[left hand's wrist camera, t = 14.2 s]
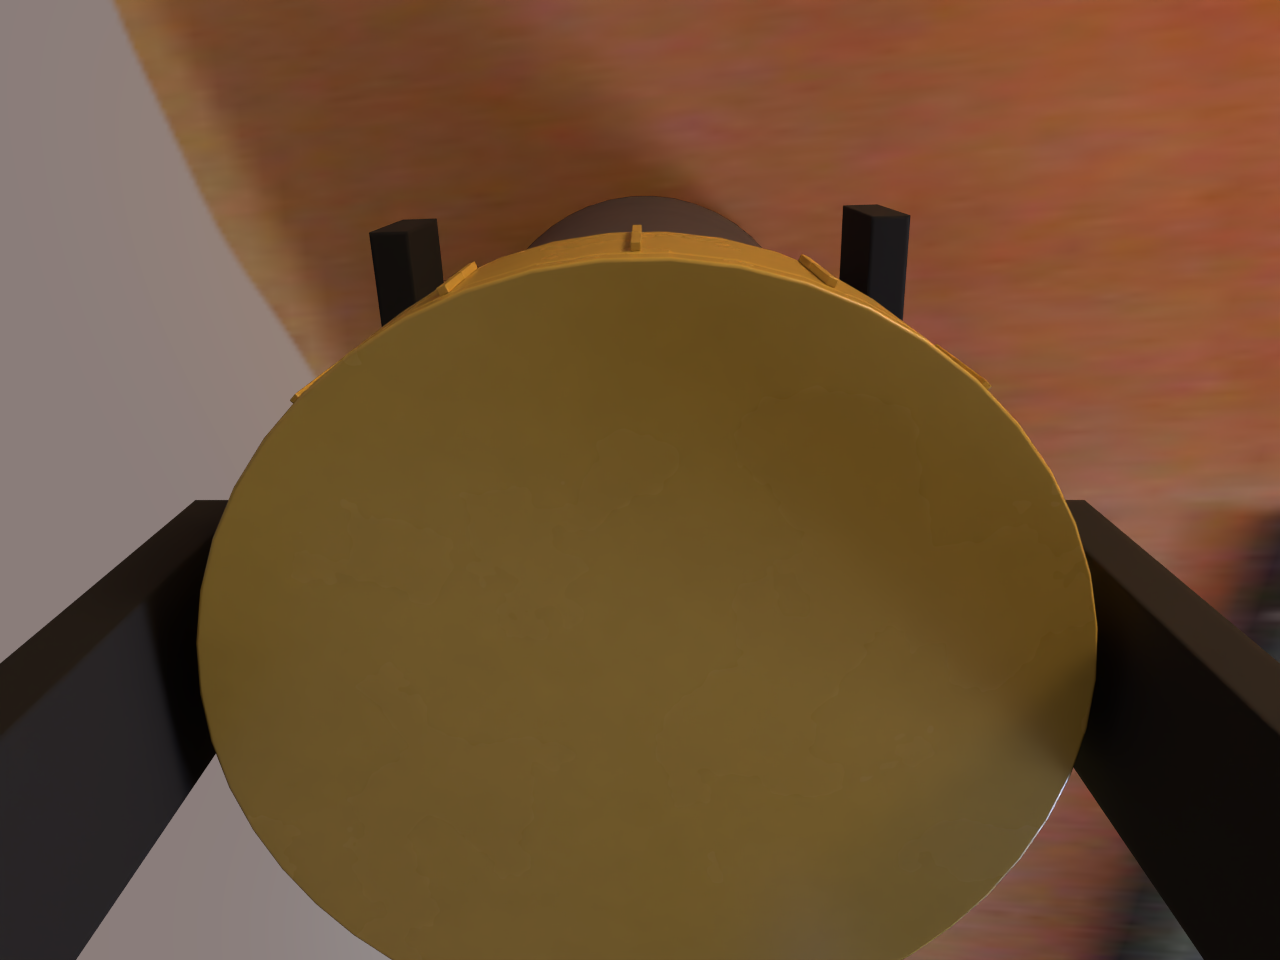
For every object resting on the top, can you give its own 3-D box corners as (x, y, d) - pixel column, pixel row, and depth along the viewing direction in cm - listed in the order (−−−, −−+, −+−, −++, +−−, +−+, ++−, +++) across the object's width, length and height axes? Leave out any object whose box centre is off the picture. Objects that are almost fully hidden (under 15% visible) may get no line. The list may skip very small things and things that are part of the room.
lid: (738, 980, 15) (754, 1126, 13) (161, 702, 13) (64, 818, 11) (1177, 506, 12) (1299, 592, 10) (506, 49, 10) (467, 27, 8)
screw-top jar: (688, 551, 29) (740, 1056, 13) (435, 403, 27) (146, 782, 11) (863, 310, 26) (1196, 587, 10) (593, 128, 24) (500, 127, 9)
